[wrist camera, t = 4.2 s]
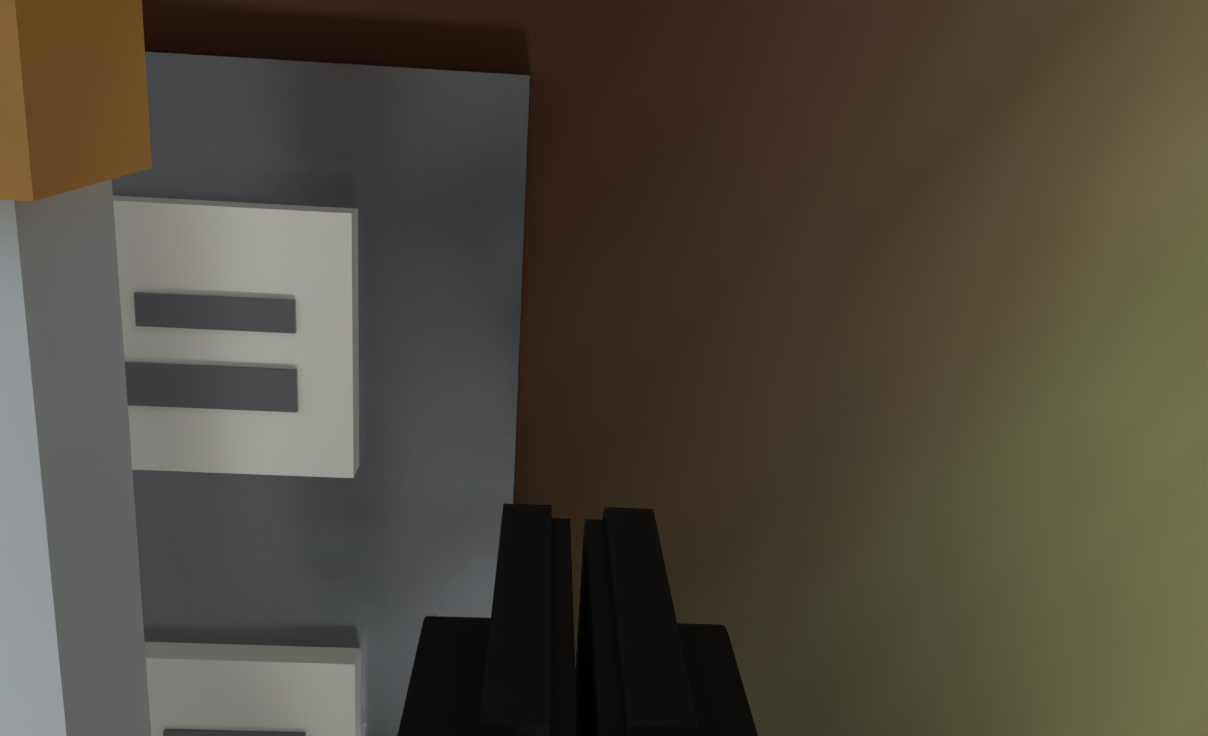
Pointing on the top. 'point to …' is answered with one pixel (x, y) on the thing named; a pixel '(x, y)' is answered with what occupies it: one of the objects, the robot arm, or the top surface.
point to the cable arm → (68, 371)
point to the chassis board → (386, 358)
